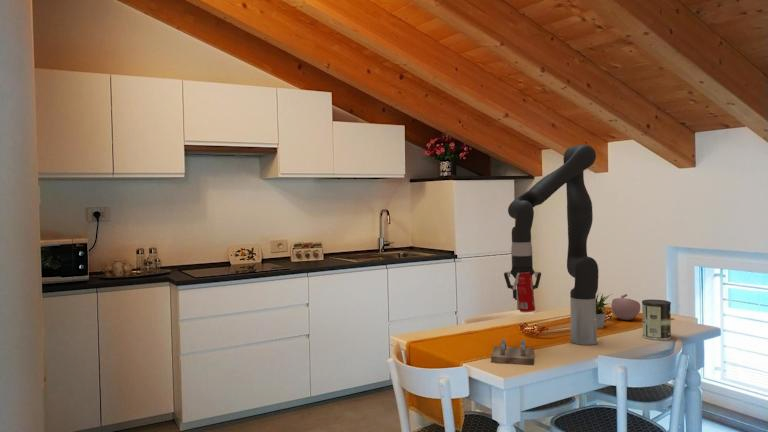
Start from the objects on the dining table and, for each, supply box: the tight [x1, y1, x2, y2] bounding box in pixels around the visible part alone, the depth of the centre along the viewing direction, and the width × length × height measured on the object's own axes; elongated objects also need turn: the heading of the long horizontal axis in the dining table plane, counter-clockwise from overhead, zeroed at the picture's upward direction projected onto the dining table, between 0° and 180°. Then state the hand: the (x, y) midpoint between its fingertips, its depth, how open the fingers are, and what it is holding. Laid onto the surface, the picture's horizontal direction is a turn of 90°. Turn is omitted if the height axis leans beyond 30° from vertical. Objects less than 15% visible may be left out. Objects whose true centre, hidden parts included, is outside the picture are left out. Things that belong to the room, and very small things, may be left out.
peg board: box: [490, 338, 535, 366], centre depth 198 cm, size 14×14×6 cm
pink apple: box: [610, 293, 641, 321], centre depth 255 cm, size 12×12×11 cm
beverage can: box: [516, 272, 536, 313], centre depth 211 cm, size 6×6×15 cm
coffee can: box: [641, 299, 672, 341], centre depth 223 cm, size 10×10×14 cm
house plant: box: [596, 292, 613, 329], centre depth 243 cm, size 14×14×16 cm
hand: (523, 299), depth 212 cm, fingers closed on beverage can, 4 cm apart
